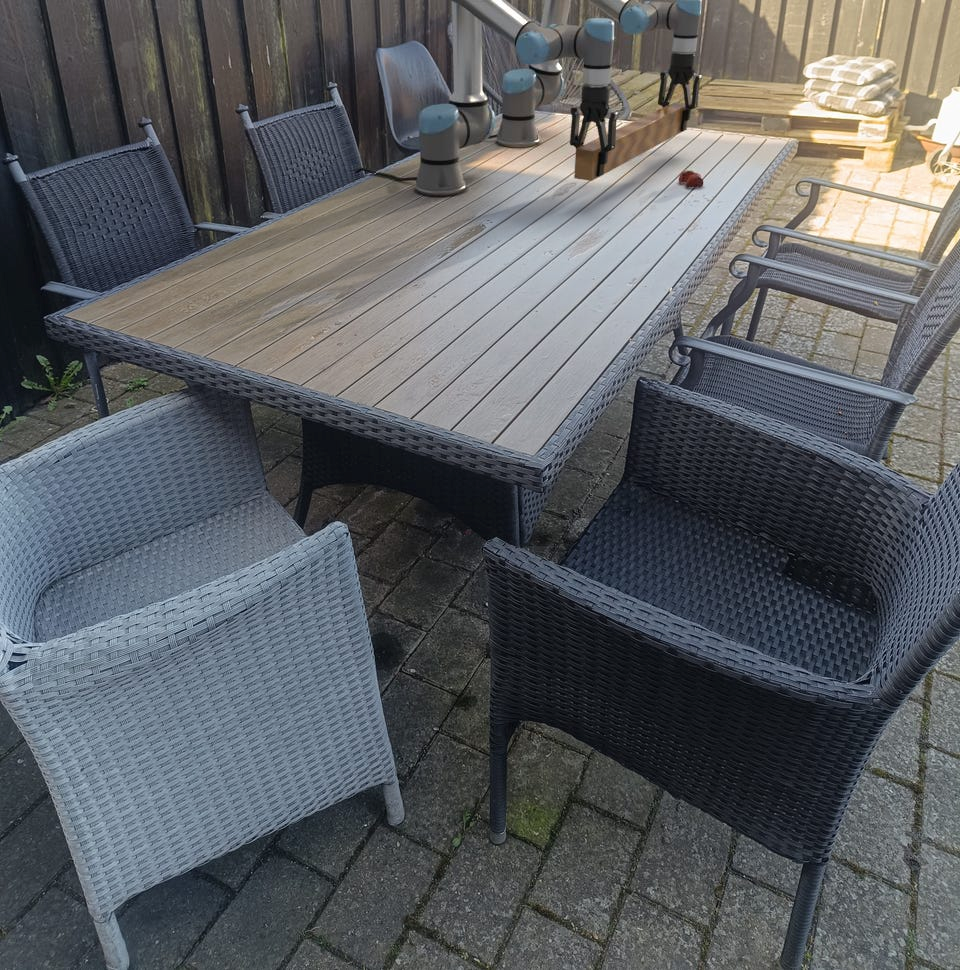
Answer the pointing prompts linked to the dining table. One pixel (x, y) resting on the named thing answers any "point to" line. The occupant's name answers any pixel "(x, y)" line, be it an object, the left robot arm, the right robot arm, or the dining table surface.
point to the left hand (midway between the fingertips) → (590, 173)
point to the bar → (631, 141)
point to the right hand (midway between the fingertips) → (674, 129)
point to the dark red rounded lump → (691, 179)
